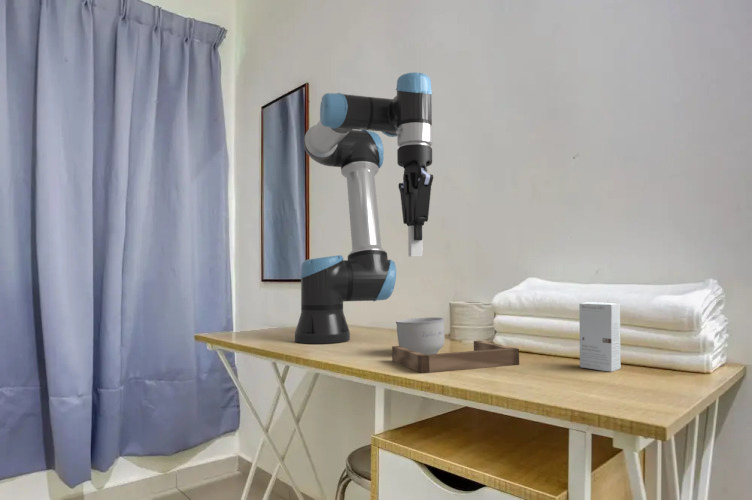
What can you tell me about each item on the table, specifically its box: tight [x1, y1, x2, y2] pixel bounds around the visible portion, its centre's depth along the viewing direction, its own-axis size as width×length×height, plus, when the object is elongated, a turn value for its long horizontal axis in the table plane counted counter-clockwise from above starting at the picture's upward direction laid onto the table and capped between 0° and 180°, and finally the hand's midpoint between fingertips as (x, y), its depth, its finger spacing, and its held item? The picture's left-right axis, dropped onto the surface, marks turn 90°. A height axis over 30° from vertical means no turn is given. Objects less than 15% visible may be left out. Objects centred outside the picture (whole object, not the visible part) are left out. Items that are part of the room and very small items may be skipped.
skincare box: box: [578, 301, 622, 372], centre depth 90 cm, size 6×4×12 cm
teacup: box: [395, 316, 445, 355], centre depth 111 cm, size 14×11×8 cm
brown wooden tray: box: [391, 340, 520, 374], centre depth 98 cm, size 14×21×3 cm, turn 111°
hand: (415, 256), depth 104 cm, fingers closed
